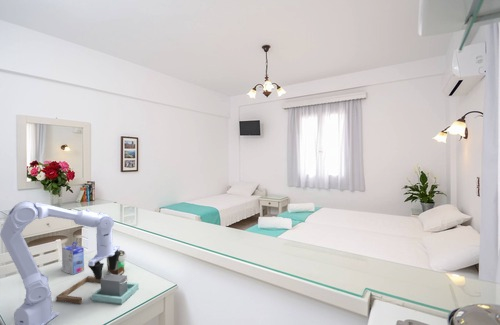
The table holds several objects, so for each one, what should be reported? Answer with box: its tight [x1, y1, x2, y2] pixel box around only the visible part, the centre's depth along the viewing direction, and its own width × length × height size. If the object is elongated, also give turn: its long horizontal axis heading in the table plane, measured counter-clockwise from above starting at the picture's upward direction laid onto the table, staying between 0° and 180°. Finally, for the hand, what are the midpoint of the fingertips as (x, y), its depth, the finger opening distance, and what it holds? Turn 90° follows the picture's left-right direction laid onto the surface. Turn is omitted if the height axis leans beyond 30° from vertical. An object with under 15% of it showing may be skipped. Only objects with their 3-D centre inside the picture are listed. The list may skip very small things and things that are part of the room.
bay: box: [55, 275, 103, 305], centre depth 101 cm, size 15×11×2 cm
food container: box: [106, 249, 127, 275], centre depth 117 cm, size 12×6×10 cm, turn 59°
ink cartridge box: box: [61, 241, 85, 276], centre depth 118 cm, size 10×6×14 cm, turn 66°
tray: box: [90, 282, 139, 305], centre depth 98 cm, size 10×14×2 cm
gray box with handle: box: [100, 273, 129, 297], centre depth 98 cm, size 4×10×7 cm, turn 80°
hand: (105, 274), depth 98 cm, fingers open, 7 cm apart
